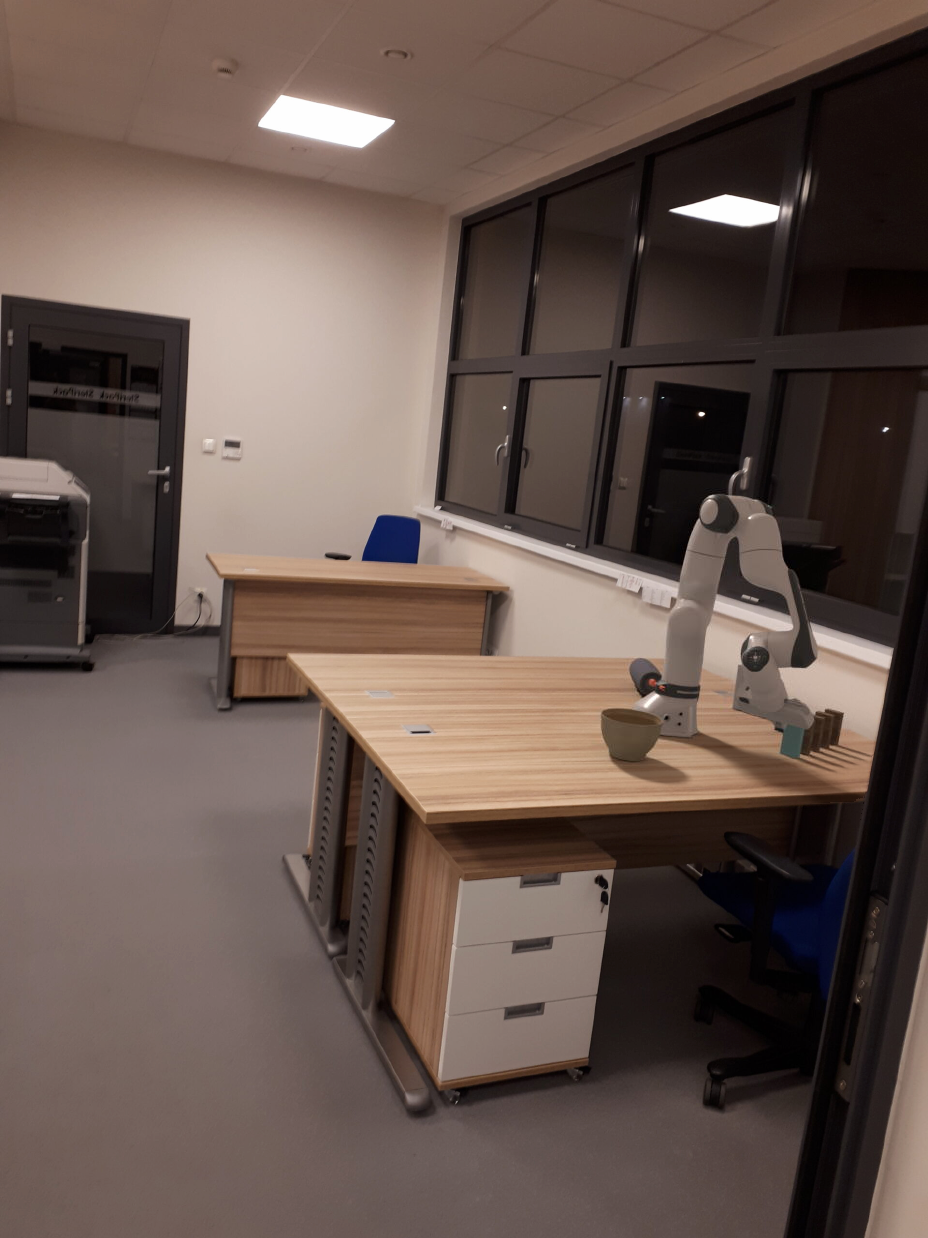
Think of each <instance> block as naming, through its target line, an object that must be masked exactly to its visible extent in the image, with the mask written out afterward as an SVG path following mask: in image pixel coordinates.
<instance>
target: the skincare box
mask: <svg viewBox="0 0 928 1238" xmlns="http://www.w3.org/2000/svg"><path fill="white" fill-rule="evenodd" d="M736 671H737V672H736V677H735V678H736V679H735V685H734V693H733V702H732V708H731V709H733V710H737V711H741V710H740V708H739V706H738V704H737V699H736V694H737V692H738V690H739V688H740V686H741V685H742V684H743V682H744V681H745V678H744V675H743V670H742V663H741V661H740V662H738V664H737V670H736Z"/></svg>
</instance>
